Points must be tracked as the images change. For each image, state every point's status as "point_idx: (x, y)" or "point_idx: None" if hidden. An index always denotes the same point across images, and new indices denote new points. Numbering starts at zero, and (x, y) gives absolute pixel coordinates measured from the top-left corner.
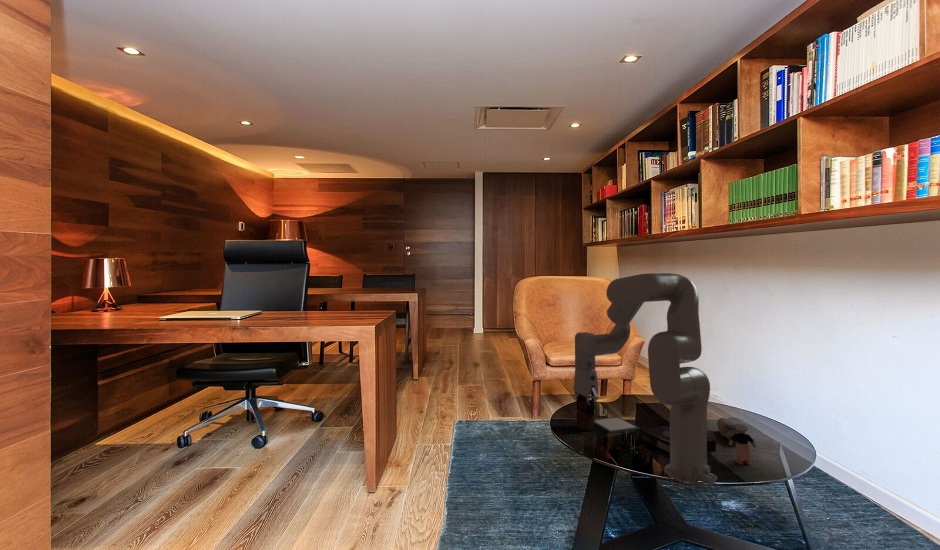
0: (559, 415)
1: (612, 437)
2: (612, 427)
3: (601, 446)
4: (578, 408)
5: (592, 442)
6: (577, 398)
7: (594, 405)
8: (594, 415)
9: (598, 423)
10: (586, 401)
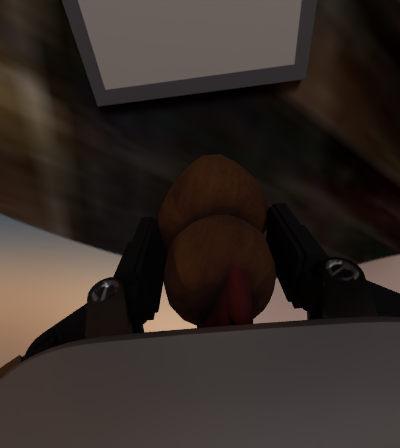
0: (19, 220)
1: (351, 105)
2: (252, 10)
3: (387, 207)
4: (164, 260)
5: (339, 220)
6: (141, 325)
7: (314, 243)
8: (250, 179)
9: (161, 81)
10: (261, 308)
